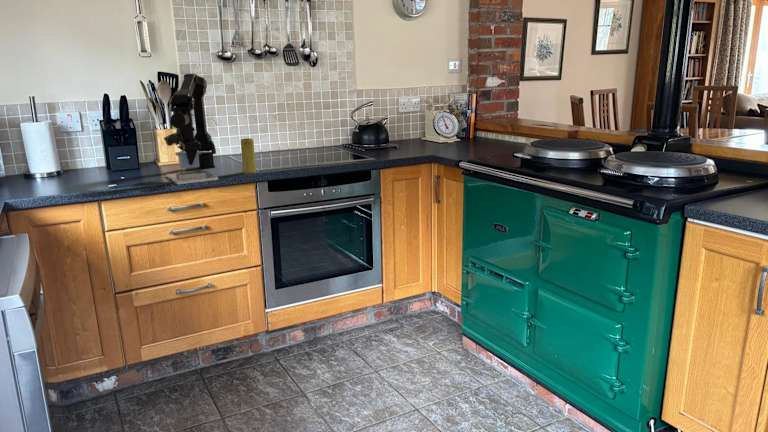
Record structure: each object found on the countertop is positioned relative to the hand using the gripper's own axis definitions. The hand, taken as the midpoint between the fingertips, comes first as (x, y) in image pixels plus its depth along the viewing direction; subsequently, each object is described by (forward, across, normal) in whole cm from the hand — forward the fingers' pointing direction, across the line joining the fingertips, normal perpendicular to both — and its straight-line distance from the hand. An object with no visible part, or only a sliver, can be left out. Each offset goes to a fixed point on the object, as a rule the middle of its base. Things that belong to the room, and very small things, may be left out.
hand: (189, 164), depth 231 cm
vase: (+7, -1, +25) cm, 26 cm away
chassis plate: (+6, -3, +1) cm, 7 cm away
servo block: (+1, 0, 0) cm, 1 cm away
